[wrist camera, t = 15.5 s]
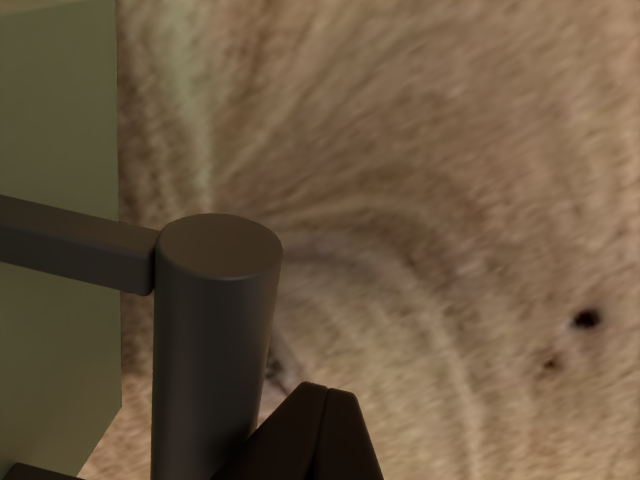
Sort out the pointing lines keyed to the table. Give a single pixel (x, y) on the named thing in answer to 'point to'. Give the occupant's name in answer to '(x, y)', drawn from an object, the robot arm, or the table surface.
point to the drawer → (110, 270)
